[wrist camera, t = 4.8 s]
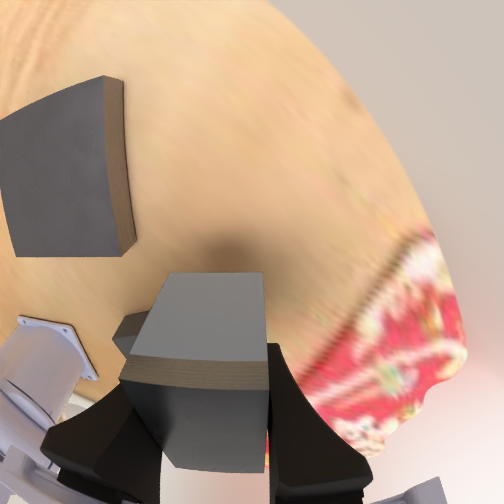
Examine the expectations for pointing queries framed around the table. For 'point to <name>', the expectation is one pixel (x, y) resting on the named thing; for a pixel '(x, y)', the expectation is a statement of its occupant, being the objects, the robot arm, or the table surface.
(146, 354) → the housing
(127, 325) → the rubber block
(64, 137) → the stand
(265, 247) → the table surface
